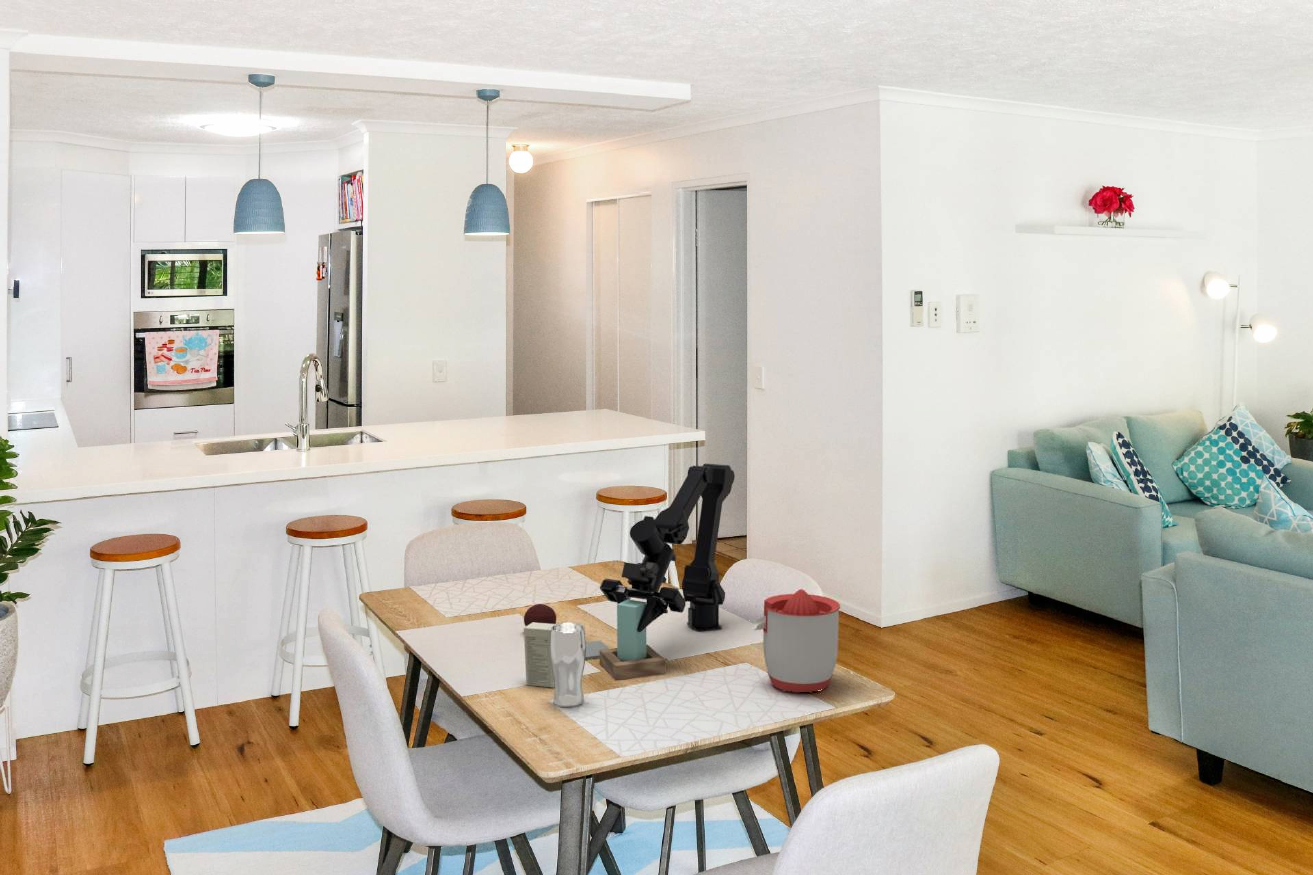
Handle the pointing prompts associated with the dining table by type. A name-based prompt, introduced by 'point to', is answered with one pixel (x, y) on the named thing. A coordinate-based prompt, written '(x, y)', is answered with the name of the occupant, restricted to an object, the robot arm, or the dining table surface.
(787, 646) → the citrus juicer
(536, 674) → the skincare box
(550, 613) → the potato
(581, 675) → the beer glass
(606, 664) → the walnut pocket
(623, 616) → the teal block
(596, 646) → the slate coaster
